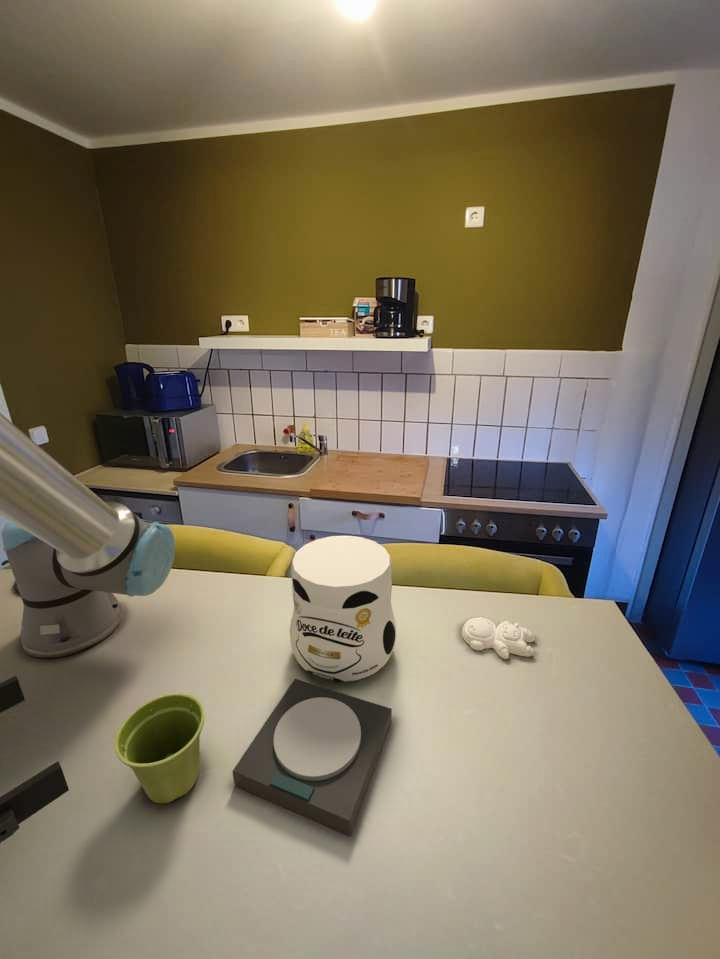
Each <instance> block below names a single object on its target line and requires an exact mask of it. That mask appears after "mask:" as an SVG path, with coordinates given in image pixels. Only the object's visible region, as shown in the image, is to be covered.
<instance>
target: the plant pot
mask: <svg viewBox="0 0 720 959" xmlns="http://www.w3.org/2000/svg"><path fill="white" fill-rule="evenodd" d="M205 716H206V715H205V709H204V706H203V703H202V702H201V701H200V700H199V699H198V698H196V696H193V695H191V694H188V693H180V692H176V693H175V692H174V693H167V694H163V695H160V696H156V697H155V698H152V699H150V700H148V701H146V702H145V703H143V704H142V705H140V706H138V707H137V708H136V709H134V710H133V711H131V713H130V714H129V715H128V716H127V717H126V718H125V720H124V721H123V722H122V723H121V726H120V727H119V729H118V731H117V733H116V735H115V739H114V752H115V754H116V757H117V759H118V760H119V761H120V762H121V763H122V764H123V765H125V766H127V767H129V768H130V769H131V770H132V771H133V773H134V774H135V776H136V778H137V780H138V781H139V783H140V786H141V787H142V789H143V790H144V791H143V792H145V794H146V796H147V797H148V799H149V800H150V801H152V802H153V803H157V804H169V803H171V802H173V801H175V800H176V799H178V798H181V797H182V796H185V795H186V794H187V793H189V791H191V789H192V788H193V787H194V785H195V784H196V782H197V780H198V778H199V774H200V769H201V762H200V760H201V759H200V754H201V753H200V752H201V751H200V749H201V748H200V746H201V744H200V743H201V742H200V740H201V739H200V738H201V737H200V736H201V733H202V730H203V727H204V724H205Z"/></svg>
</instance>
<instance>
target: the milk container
mask: <svg viewBox="0 0 720 959" xmlns="http://www.w3.org/2000/svg"><path fill="white" fill-rule="evenodd" d="M290 576H291V581H292V584H291V590H292V591H291V592H292V598H293V599H292V600H293V611H292V615H291V620H290V624H289V640H290V643H291V644H290V645H291V649H292V652H293V654H294V658H295V659H296V661H297V663H298V664H299V665H300V667H302V668H303V669H304V671H305V672H307V673H308V674H309V675H311V676H313V677H315V678H317V679H319V680H322V681H326V682H332V683H336V684H337V683H339V684H340V683H352V682H353V683H354V682H358V681H361V680H364V679H366V678H369V677H372V676H373V675H375V674H376V673H377V672H378V671H380V670H382V669H383V667H384V666H385V665H386V664H387V662H388V661H389V659H390V658H391V657H392V654H393V651H394V648H395V643H396V637H397V621H396V618H395V614H394V611H393V608H392V592H393V581H392V560H391V555H390V554H389V552H388V551H387V549H386V547H384V546H383V545H381V544H379V543H378V542H377V541H374V540H371V539H368V538H366V537H364V536H363V537H362V536H355V535H331V536H326V537H322V538H317V539H314V540H313V541H310V542H308V543H306V544H304V545H303V546H301V548H299V549H298V550H297V551H296V552H295V554H294V556H293V558H292V560H291V570H290Z"/></svg>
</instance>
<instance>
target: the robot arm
mask: <svg viewBox="0 0 720 959" xmlns="http://www.w3.org/2000/svg"><path fill="white" fill-rule="evenodd" d="M0 516H1V517H2V518H5V519H6V520H8V522H7V523H5V525H4V526H3V528H2V530H1V532H0V534H1V540H2V544H3V551H4V552H5V554H6V557H7V559H6V560H3V561H2V562H1V566H5V565H7V564H9V566H10V569H11V571H12V574H13V577H14V580H15V581H14V583H13V588H14V590H15V591H16V592H17V593H19V595H20V597H21V600H22V601H21V602H22V604H23V610H22V618H21V629H20V642H21V646H22V648H23V650H24V652H25V653H26V654H28V656H31V657H33V658H39V659H54V658H61V657H66V656H70V655H73V654H77V653H79V652H82V651H84V650H86V649H89V648H90V647H93V646H95V645H96V644H98V643H100V642H102V641H103V640H105V639H106V638H107V637H109V636H110V635H111V634H112V633H113V632H114V631H115V630H116V629H117V628H118V626H119V625H120V623H121V621H122V619H123V610H122V606H121V604H120V602H119V600H118V598H117V597H116V595H117V594H118V595H124V596H128V597H135V596H137V597H147V596H150V595H153V594H154V593H155V592H156V591H158V589H160V588H161V587H162V586H163V585H164V583H165V581H166V580H167V578H168V576H169V575H170V573H171V570H172V566H173V564H174V561H175V560H174V559H175V554H176V540H175V536H174V532H173V531H172V529H171V528H170V527H169V526H168V525H167V524H164V523H160V522H158V521H153V522H148V521H145V520H143V519H141V518H140V517H139V516H138V515H137V514H136V513H134V512H133V511H132V510H131V509H130V508H129V507H128V506H126V505H125V504H123V503H120V502H117V501H104V500H103V499H102V498H101V497H99V496H98V495H97V494H96V493H95V492H93V491H92V490H91V489H90V488H89V487H88V486H86V485H85V484H84V483H83V482H82V481H81V480H79V479H78V478H77V477H76V476H74V474H72V473H71V472H70V471H69V470H68V469H67V468H65V467H64V466H63V465H62V464H61V463H60V462H58V461H57V460H56V459H55V458H54V457H52V455H50V454H49V453H48V452H46V450H45V449H43V448H42V447H41V446H40V445H38V444H37V443H36V442H35V441H34V440H33V439H31V437H29V436H28V435H27V434H26V433H24V432H23V431H22V430H21V429H20V428H19V427H18V426H16V425H15V424H14V423H13V422H11V421H10V420H9V418H7V417H6V416H4V415H3V413H1V412H0ZM115 594H116V595H115ZM24 701H26V699H25V696H24V693H23V690H22V687H21V685H20V681H19V679H18V677H17V675H14V676H12V677H10V678H7V679H6V680H4V681H2V682H0V714H1V713H4V712H5V711H7V710H9V709H11V708H14V707H15V706H17V705H19V704H20V703H22V702H24ZM68 791H70V788H69V785H68V783H67V780H66V777H65V774H64V770H63V768H62V766H61V764H60V761H59V760H57V761H56V762H54V763H53V764H50V765H49V766H47V767H46V768H45V769H43V770H41V771H39V772H38V773H36V774H35V775H33V776H32V777H30V778H28V779H27V780H25V781H23V782H22V783H20V784H19V785H17V786H15V787H14V788H12V789H11V790H9V791H7V792H6V793H4V794H2V795H1V796H0V844H1V843H2V842H5V841H6V840H7V839H9V838H10V837H11V836H13V835H14V834H15V833H16V832H17V831H18V830H19V829H20V824H21V823H23V822H24V821H26V820H28V819H29V818H30V817H32V816H33V815H35V814H37V812H39V811H41V810H42V809H44V808H45V807H47V806H48V805H50V804H51V803H52V802H54V801H55V800H57V799H58V798H60V797H61V796H63V795H64V794H67V792H68Z"/></svg>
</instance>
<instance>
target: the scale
mask: <svg viewBox="0 0 720 959" xmlns="http://www.w3.org/2000/svg"><path fill="white" fill-rule="evenodd" d="M392 711H393V710H392V708H390V707H388V706H384V705H380V704H377V703H374V702H371V701H369V700H365V699H362V698H359V697H355V696H353V695H349V694H347V693H343V692H340V691H337V690H334V689H330V688H328V687H324V686H321V685H319V684H315V683H313V682H312V683H311V682H309V681H305V680H302V679H299V678H295V677H294V679H293V681H292V682H291V683H290V684H289V687H288V688H287V690H286V691H285V692H284V694H283V696H282V697H281V698H280V700H279V701H278V703H277V704H276V706H275V708H274V709H273V710H272V712H271V713H270V715H269V717H268V718H267V719H266V721H265V722H264V723H263V725H262V726H261V728H260V730H259V731H258V732H257V734H256V735H255V737H254V738H253V740H252V741H251V743H250V744H249V746H248V747H247V749H246V750H245V751H244V753H243V755H242V756H241V758H240V759H239V761H238V762H237V764H236V765H235V767H233V769H232V770H231V771H232V778H233V785H234V786H235V787H237V788H239V789H241V790H244V791H246V792H248V793H251V794H253V795H255V796H257V797H259V798H262V799H264V800H265V801H269V802H271V803H274V804H276V805H278V806H280V807H282V808H285V809H287V810H289V811H291V812H293V813H296V814H298V815H300V816H303V817H304V818H305V817H306V818H307V819H309V820H312V821H314V822H317V823H319V824H321V825H323V826H325V827H328V828H330V829H333V830H335V831H337V832H339V833H342V834H344V835H346V836H349V837H351V835H352V832H353V829H354V826H355V824H356V821H357V818H358V815H359V813H360V810H361V807H362V805H363V802H364V800H365V796H366V794H367V790H368V787H369V786H370V782H371V779H372V777H373V775H374V771H375V768H376V766H377V763H378V760H379V757H380V755H381V752H382V749H383V746H384V745H385V744H384V743H385V741H386V739H387V735H388V732H389V731H390V727H391V725H392V719H393V718H392V714H393V712H392Z"/></svg>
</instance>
